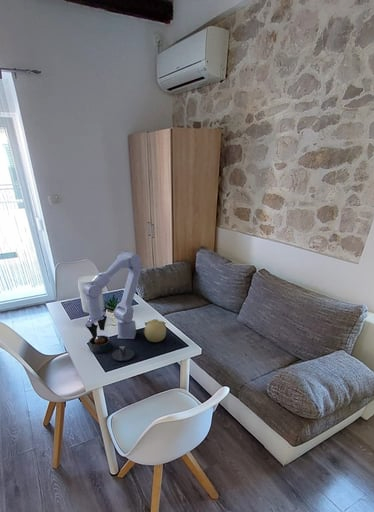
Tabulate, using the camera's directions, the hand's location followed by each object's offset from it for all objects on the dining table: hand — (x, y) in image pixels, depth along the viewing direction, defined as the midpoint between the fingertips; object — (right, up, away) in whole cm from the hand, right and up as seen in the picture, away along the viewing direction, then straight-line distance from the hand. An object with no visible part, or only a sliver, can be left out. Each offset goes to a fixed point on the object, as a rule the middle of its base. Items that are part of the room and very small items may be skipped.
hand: (98, 333), depth 157 cm
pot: (+1, -7, +2) cm, 8 cm away
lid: (+14, -11, -5) cm, 18 cm away
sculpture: (+28, -2, +11) cm, 30 cm away
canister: (-15, +19, +42) cm, 49 cm away
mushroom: (+1, -7, +2) cm, 7 cm away
